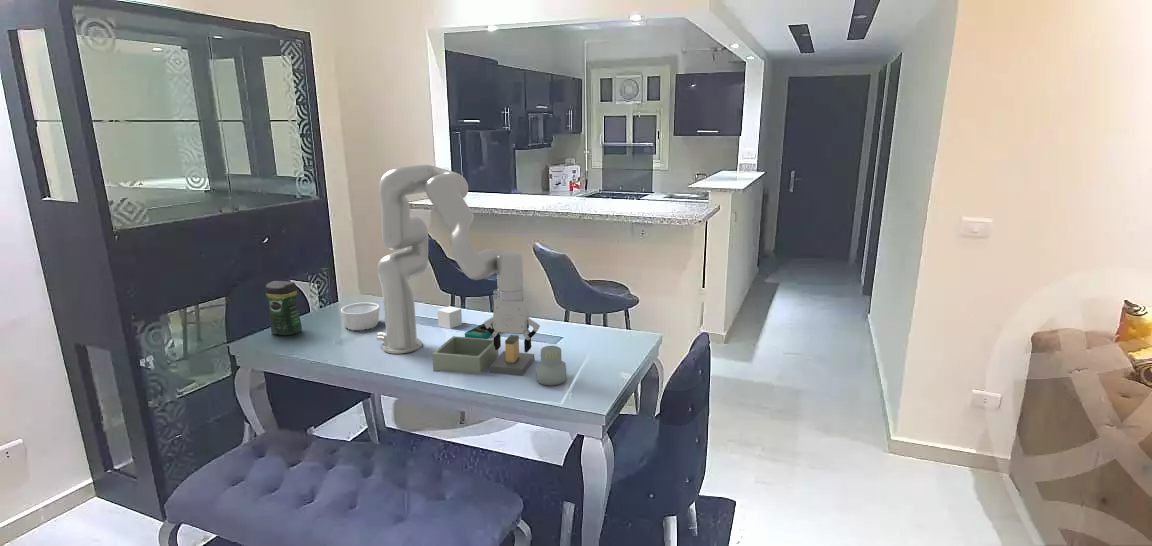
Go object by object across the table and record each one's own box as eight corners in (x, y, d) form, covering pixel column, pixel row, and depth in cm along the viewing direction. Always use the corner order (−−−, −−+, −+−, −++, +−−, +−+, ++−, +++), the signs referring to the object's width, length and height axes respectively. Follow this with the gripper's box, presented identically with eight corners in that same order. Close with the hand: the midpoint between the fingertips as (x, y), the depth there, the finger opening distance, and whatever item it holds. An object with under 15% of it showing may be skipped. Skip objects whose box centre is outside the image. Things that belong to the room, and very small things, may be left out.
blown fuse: (506, 368, 182) (505, 340, 180) (511, 362, 186) (510, 334, 184) (514, 369, 181) (513, 341, 179) (519, 363, 186) (518, 335, 184)
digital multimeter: (505, 330, 218) (505, 322, 217) (481, 343, 205) (481, 335, 204) (488, 327, 221) (488, 319, 220) (464, 340, 208) (463, 331, 207)
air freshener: (567, 389, 169) (566, 355, 167) (537, 390, 169) (536, 356, 166) (564, 373, 180) (564, 341, 177) (536, 374, 179) (535, 342, 177)
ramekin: (373, 332, 215) (372, 313, 213) (336, 332, 215) (334, 313, 213) (385, 320, 228) (384, 302, 226) (350, 320, 228) (348, 302, 226)
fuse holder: (490, 374, 179) (489, 366, 179) (503, 358, 191) (503, 351, 190) (522, 377, 177) (522, 369, 177) (534, 361, 189) (534, 353, 188)
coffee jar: (306, 329, 217) (300, 279, 213) (290, 337, 210) (284, 285, 205) (283, 327, 220) (276, 277, 215) (267, 334, 212) (260, 283, 208)
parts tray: (433, 370, 182) (432, 353, 180) (454, 352, 196) (453, 336, 195) (480, 375, 179) (479, 357, 177) (498, 356, 193) (497, 339, 191)
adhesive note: (438, 325, 221) (437, 310, 220) (450, 321, 226) (449, 306, 224) (450, 329, 218) (449, 313, 216) (462, 324, 223) (461, 308, 221)
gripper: (478, 296, 177) (480, 352, 181) (535, 299, 173) (536, 356, 177) (487, 289, 184) (489, 343, 188) (542, 292, 180) (543, 347, 184)
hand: (512, 349), depth 182 cm, fingers open, 8 cm apart
